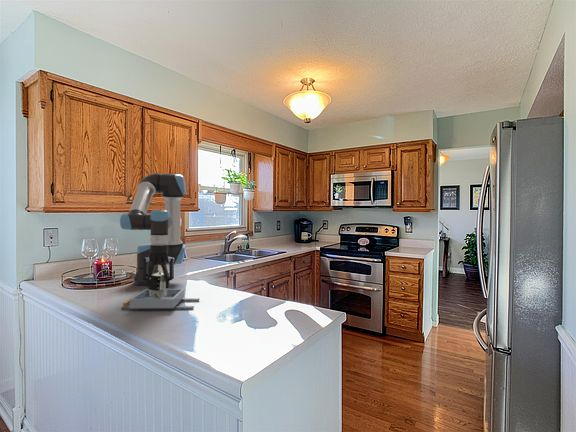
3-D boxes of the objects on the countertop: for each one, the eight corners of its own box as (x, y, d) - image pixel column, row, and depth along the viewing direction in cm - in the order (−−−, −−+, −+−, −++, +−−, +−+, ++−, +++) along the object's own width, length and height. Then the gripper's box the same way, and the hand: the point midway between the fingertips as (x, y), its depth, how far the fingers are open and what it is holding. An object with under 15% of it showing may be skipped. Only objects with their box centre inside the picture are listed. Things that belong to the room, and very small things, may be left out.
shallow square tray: (145, 296, 148) (146, 288, 148) (184, 296, 150) (184, 288, 150) (129, 308, 130) (129, 299, 130) (173, 308, 132) (173, 299, 132)
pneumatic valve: (169, 295, 146) (170, 269, 145) (156, 302, 134) (158, 274, 134) (157, 294, 146) (159, 268, 146) (144, 300, 134) (146, 273, 134)
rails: (133, 300, 146) (133, 296, 146) (199, 300, 148) (199, 296, 148) (119, 309, 132) (119, 305, 132) (192, 309, 134) (193, 305, 134)
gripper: (134, 244, 135) (133, 297, 136) (177, 245, 137) (176, 297, 137) (141, 243, 143) (140, 293, 143) (182, 243, 144) (181, 293, 145)
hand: (158, 295), depth 140 cm, fingers closed on pneumatic valve, 5 cm apart
